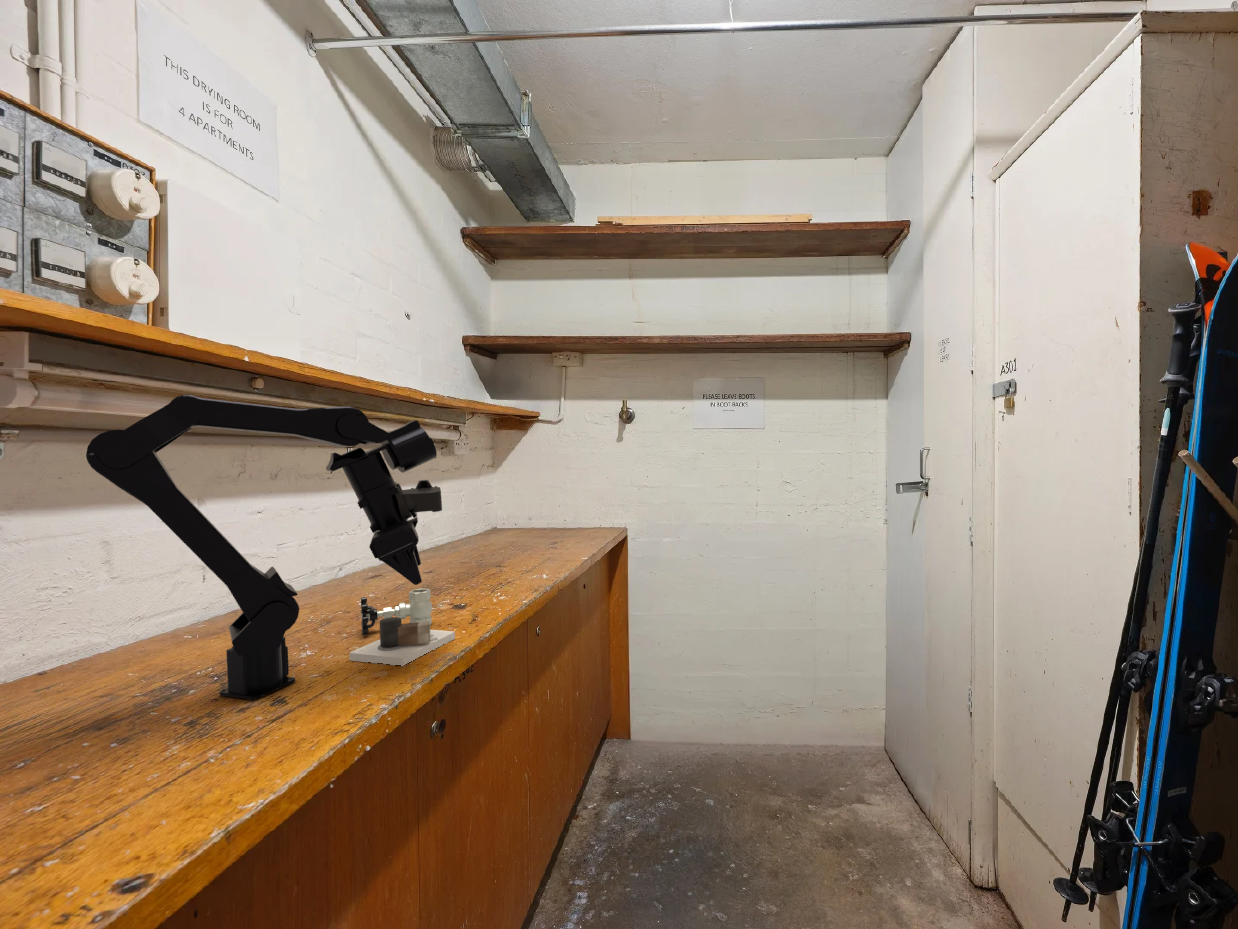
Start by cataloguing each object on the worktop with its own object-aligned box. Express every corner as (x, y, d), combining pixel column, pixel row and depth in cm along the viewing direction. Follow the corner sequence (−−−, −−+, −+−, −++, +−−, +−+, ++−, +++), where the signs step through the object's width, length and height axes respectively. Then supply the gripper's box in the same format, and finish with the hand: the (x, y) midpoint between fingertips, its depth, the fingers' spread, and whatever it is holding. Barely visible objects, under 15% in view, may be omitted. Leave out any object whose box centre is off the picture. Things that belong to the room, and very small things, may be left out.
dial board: (403, 666, 84) (402, 657, 84) (349, 660, 87) (349, 651, 87) (455, 638, 96) (454, 630, 96) (406, 634, 100) (406, 626, 99)
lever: (378, 648, 88) (377, 623, 88) (382, 641, 91) (381, 618, 91) (428, 643, 89) (427, 619, 89) (431, 637, 92) (430, 614, 92)
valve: (430, 619, 109) (361, 630, 103) (429, 585, 108) (360, 594, 103) (435, 629, 103) (362, 640, 97) (434, 592, 102) (361, 602, 97)
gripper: (427, 473, 79) (472, 569, 83) (424, 457, 97) (461, 537, 101) (347, 506, 77) (398, 604, 80) (359, 484, 94) (400, 565, 98)
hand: (418, 574), depth 90 cm, fingers open, 9 cm apart
